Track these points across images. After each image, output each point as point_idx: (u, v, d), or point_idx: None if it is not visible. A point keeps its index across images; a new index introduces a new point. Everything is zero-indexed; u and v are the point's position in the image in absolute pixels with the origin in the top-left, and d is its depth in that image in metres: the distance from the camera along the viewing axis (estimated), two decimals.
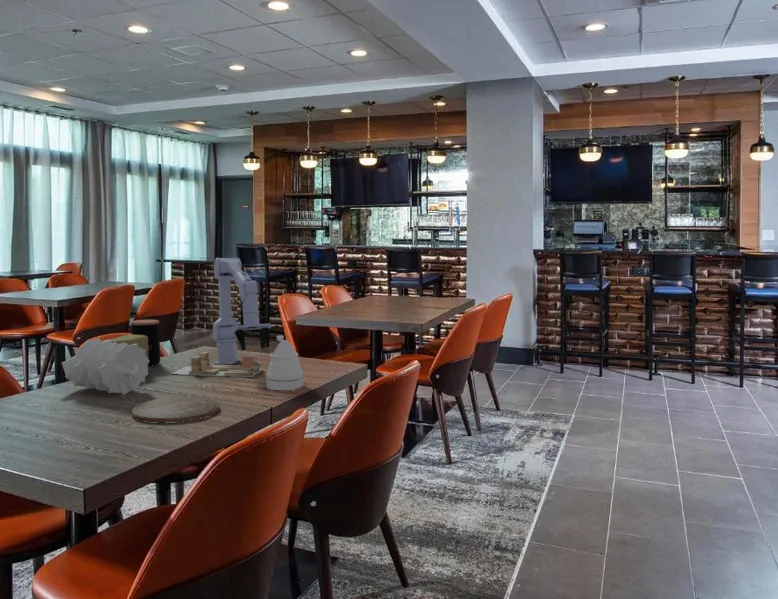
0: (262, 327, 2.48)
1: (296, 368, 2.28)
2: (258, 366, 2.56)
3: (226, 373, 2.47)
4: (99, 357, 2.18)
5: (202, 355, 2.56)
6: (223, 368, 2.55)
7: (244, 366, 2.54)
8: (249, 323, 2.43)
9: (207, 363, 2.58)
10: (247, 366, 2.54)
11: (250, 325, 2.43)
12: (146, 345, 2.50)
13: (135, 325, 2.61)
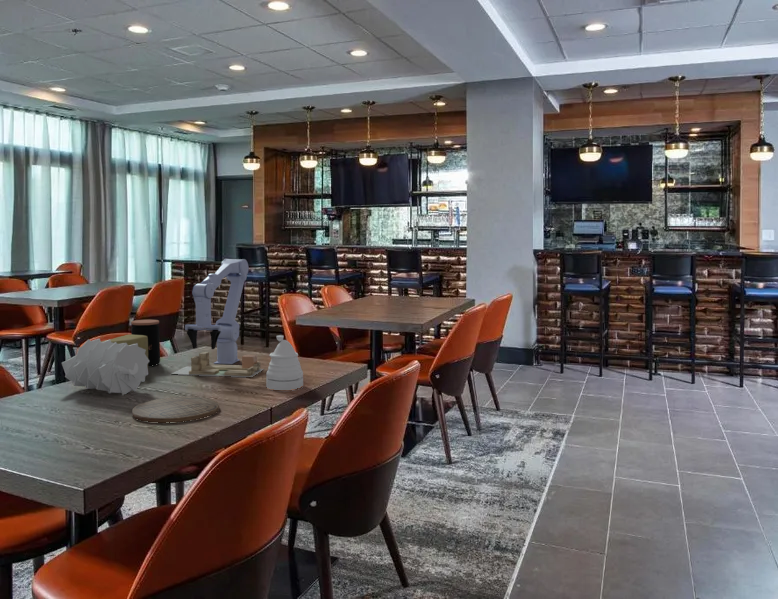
0: (213, 329, 2.56)
1: (296, 368, 2.28)
2: (258, 366, 2.56)
3: (226, 373, 2.47)
4: (99, 357, 2.18)
5: (202, 355, 2.56)
6: (223, 368, 2.55)
7: (244, 366, 2.54)
8: (197, 324, 2.54)
9: (207, 363, 2.58)
10: (247, 366, 2.54)
11: (197, 326, 2.54)
12: (146, 345, 2.50)
13: (135, 325, 2.61)
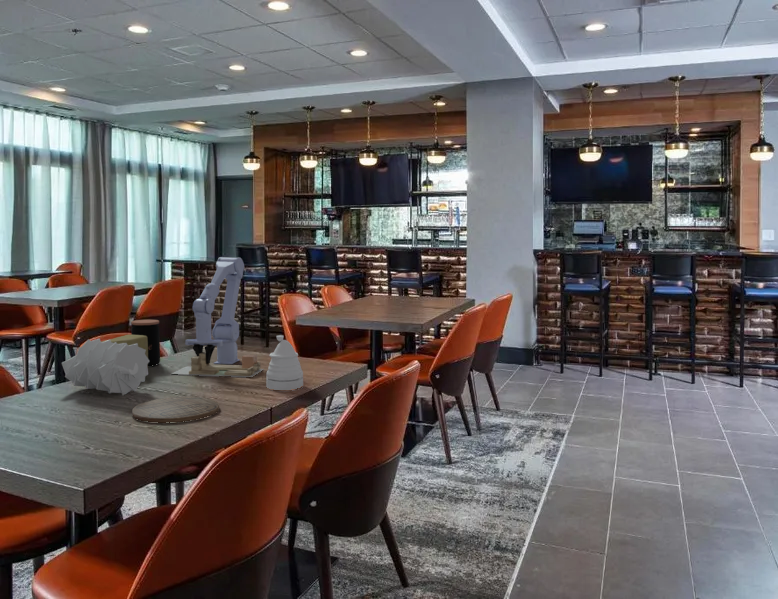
0: (213, 344, 2.57)
1: (296, 368, 2.28)
2: (258, 366, 2.56)
3: (226, 373, 2.47)
4: (99, 357, 2.18)
5: (202, 355, 2.56)
6: (223, 368, 2.55)
7: (244, 366, 2.54)
8: (197, 339, 2.55)
9: None
10: (247, 366, 2.54)
11: (197, 342, 2.55)
12: (146, 345, 2.50)
13: (135, 325, 2.61)
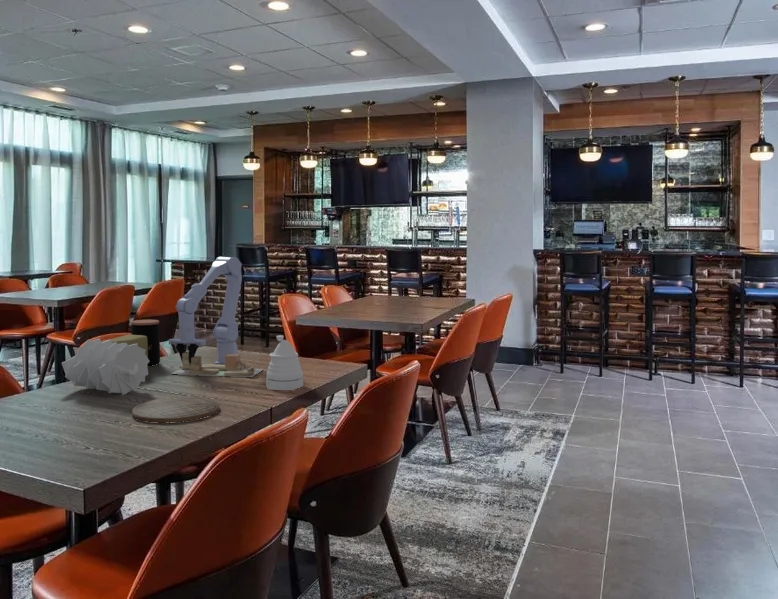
0: (196, 343, 2.57)
1: (296, 368, 2.28)
2: (241, 365, 2.56)
3: (226, 373, 2.47)
4: (99, 357, 2.18)
5: (185, 354, 2.57)
6: (206, 367, 2.56)
7: (227, 365, 2.55)
8: (180, 339, 2.56)
9: None
10: (230, 365, 2.55)
11: (180, 341, 2.56)
12: (146, 345, 2.49)
13: (135, 325, 2.61)
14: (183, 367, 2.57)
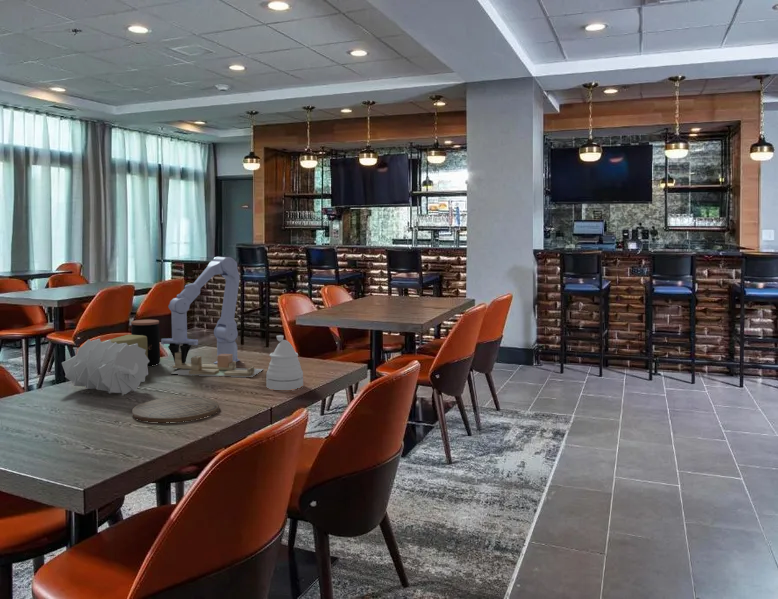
0: (189, 343, 2.58)
1: (296, 368, 2.28)
2: (233, 365, 2.57)
3: (226, 373, 2.47)
4: (99, 357, 2.18)
5: (178, 354, 2.57)
6: None
7: (219, 365, 2.55)
8: (173, 339, 2.56)
9: None
10: (222, 365, 2.55)
11: None
12: (146, 345, 2.49)
13: (135, 325, 2.61)
14: (175, 367, 2.57)
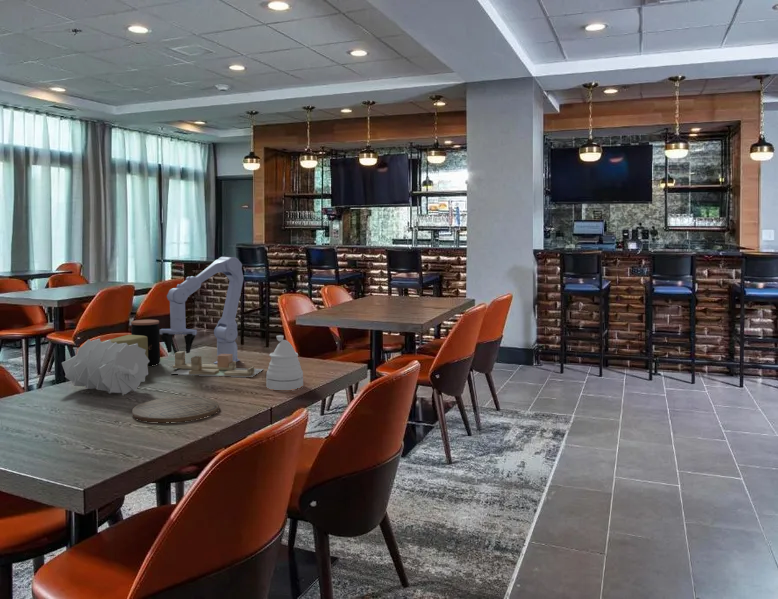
0: (188, 333, 2.57)
1: (296, 368, 2.28)
2: (233, 365, 2.57)
3: (226, 373, 2.47)
4: (99, 357, 2.18)
5: (178, 354, 2.57)
6: None
7: (219, 365, 2.55)
8: (171, 329, 2.56)
9: (183, 362, 2.59)
10: (222, 365, 2.55)
11: (171, 331, 2.56)
12: (146, 345, 2.49)
13: (135, 325, 2.61)
14: (175, 367, 2.57)
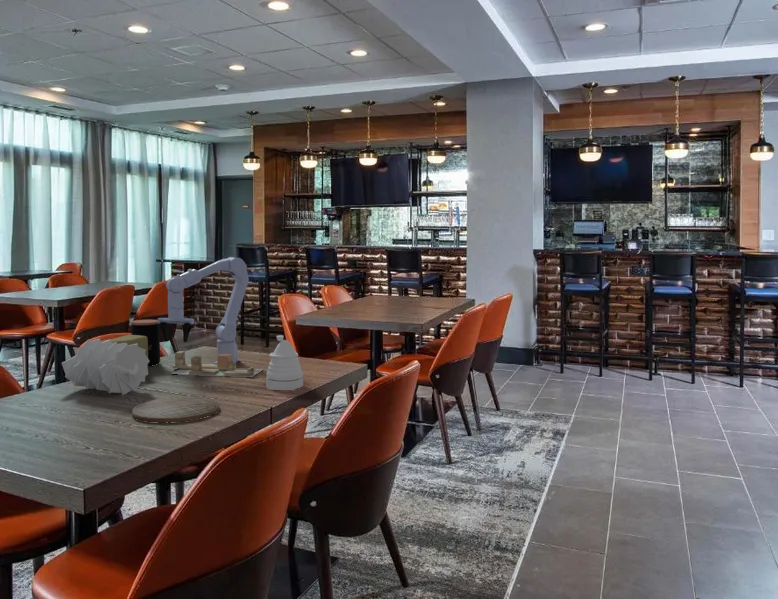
0: (185, 322, 2.61)
1: (296, 368, 2.28)
2: (233, 365, 2.57)
3: (226, 373, 2.47)
4: (99, 357, 2.18)
5: (178, 354, 2.57)
6: None
7: (219, 365, 2.55)
8: (169, 318, 2.59)
9: (183, 362, 2.59)
10: (222, 365, 2.55)
11: None
12: (146, 345, 2.49)
13: (135, 325, 2.61)
14: (175, 367, 2.57)
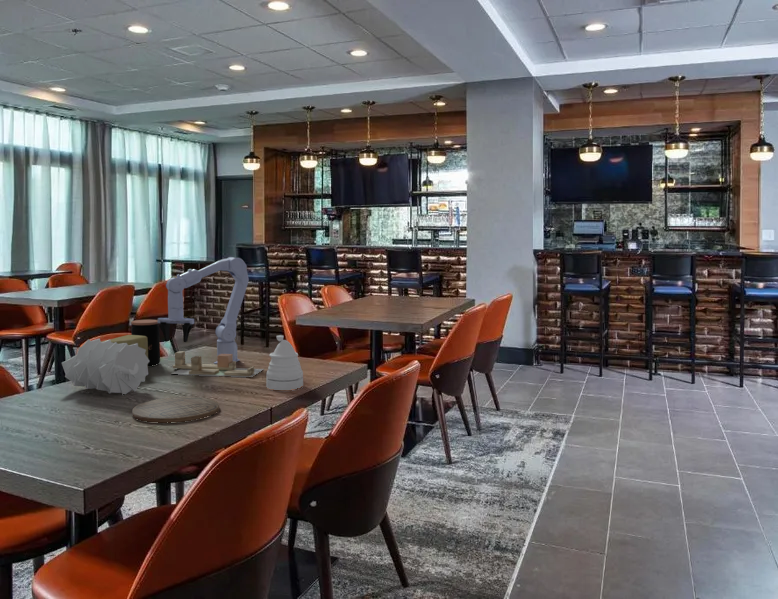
0: (185, 322, 2.61)
1: (296, 368, 2.28)
2: (233, 365, 2.57)
3: (226, 373, 2.47)
4: (99, 357, 2.18)
5: (178, 354, 2.57)
6: None
7: (219, 365, 2.55)
8: (169, 318, 2.59)
9: (183, 362, 2.59)
10: (222, 365, 2.55)
11: None
12: (146, 345, 2.49)
13: (135, 325, 2.61)
14: (175, 367, 2.57)
